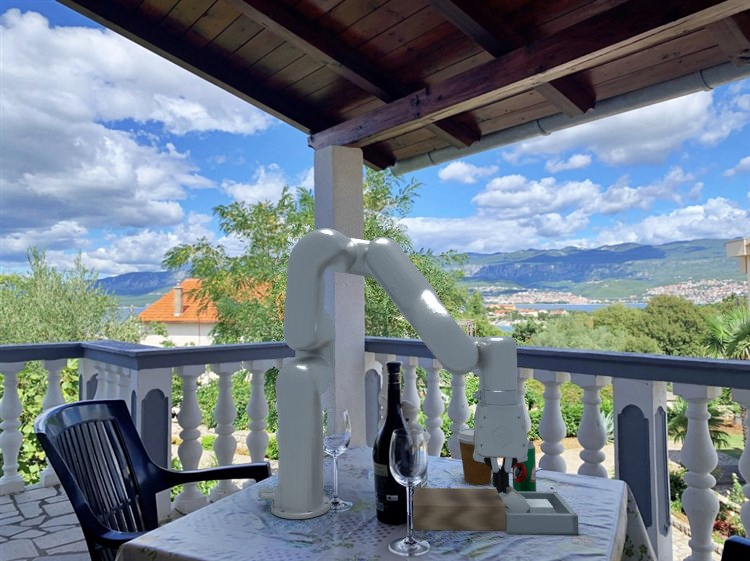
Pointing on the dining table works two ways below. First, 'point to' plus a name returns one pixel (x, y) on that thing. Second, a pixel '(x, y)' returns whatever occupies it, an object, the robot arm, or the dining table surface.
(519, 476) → the soda can
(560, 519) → the tray
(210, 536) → the dining table surface
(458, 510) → the wooden base board
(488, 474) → the disposable coffee cup
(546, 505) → the tile
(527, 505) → the tile
